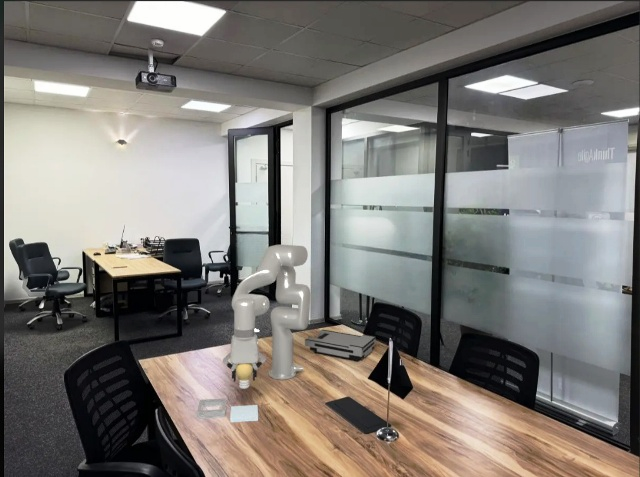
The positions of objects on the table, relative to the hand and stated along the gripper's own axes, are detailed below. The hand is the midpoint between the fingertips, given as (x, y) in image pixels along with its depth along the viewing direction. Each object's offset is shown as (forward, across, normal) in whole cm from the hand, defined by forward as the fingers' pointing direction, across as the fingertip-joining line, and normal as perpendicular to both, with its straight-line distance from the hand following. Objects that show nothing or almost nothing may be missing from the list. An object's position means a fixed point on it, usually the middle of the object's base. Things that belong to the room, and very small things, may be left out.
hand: (244, 379), depth 158 cm
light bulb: (+3, 0, 0) cm, 3 cm away
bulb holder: (+14, +12, -4) cm, 19 cm away
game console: (+14, -50, -62) cm, 81 cm away
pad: (+14, 0, 0) cm, 14 cm away
